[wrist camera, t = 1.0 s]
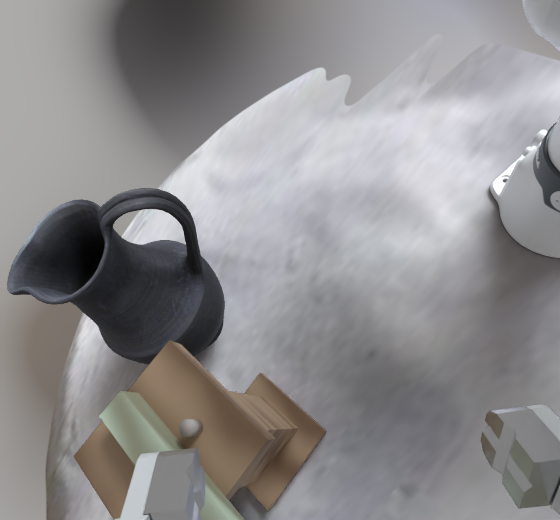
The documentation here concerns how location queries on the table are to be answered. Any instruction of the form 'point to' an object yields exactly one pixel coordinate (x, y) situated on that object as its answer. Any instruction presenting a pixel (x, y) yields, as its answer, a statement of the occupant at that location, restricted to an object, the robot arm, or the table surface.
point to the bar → (157, 445)
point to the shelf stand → (210, 432)
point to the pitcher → (124, 275)
